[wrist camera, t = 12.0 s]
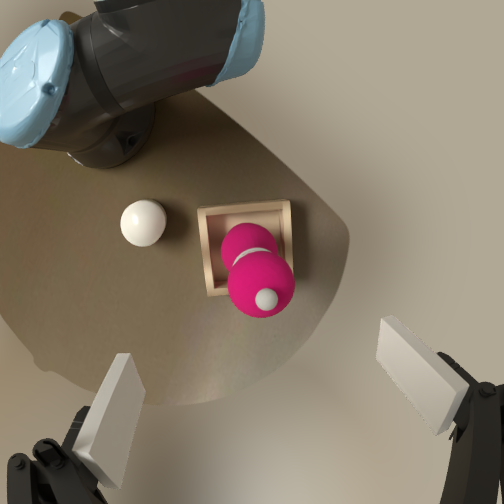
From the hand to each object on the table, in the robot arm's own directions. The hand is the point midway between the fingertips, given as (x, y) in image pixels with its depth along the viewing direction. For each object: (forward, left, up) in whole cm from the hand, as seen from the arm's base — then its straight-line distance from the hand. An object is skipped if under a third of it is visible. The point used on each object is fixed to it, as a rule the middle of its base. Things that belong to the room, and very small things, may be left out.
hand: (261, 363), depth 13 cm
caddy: (0, +1, -29) cm, 29 cm away
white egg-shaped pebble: (-5, -13, -29) cm, 32 cm away
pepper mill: (0, +1, -28) cm, 28 cm away
